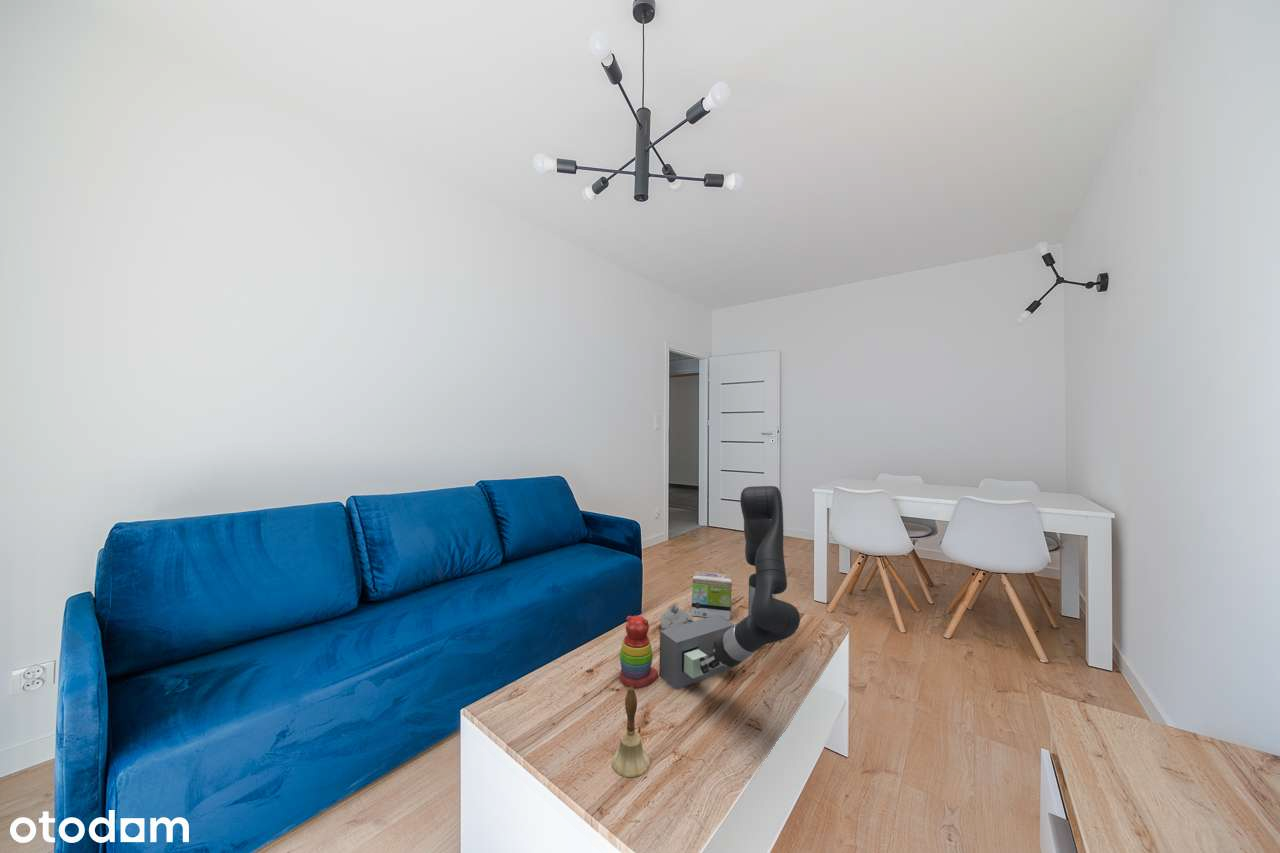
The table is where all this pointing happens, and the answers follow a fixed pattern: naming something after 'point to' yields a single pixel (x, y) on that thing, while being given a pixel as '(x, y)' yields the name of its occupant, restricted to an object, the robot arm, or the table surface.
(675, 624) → the grey clay mound
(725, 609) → the tea box
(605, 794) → the table surface
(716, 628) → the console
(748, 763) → the table surface
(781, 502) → the robot arm
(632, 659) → the stacking bear
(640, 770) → the hand bell
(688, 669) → the sage button
